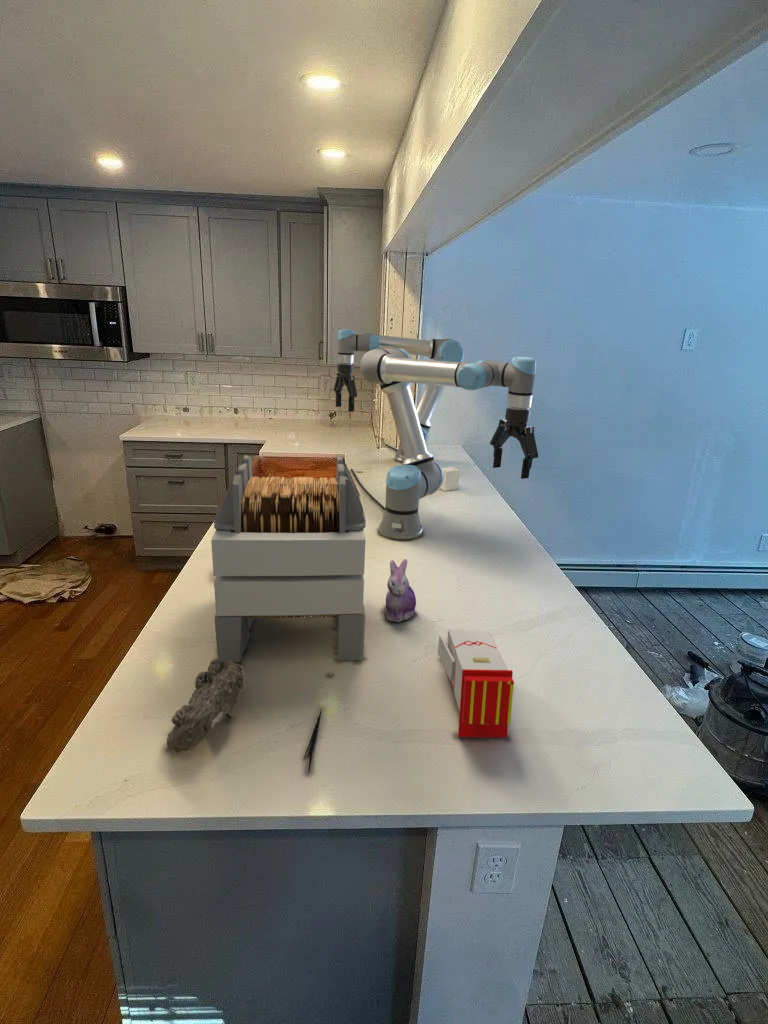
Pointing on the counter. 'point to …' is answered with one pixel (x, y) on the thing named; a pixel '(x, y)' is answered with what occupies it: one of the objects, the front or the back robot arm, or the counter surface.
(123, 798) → the counter surface
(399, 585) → the figurine
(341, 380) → the back robot arm
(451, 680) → the toy
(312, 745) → the feather
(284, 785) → the counter surface
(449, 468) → the block
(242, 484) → the record storage crate
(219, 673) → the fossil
